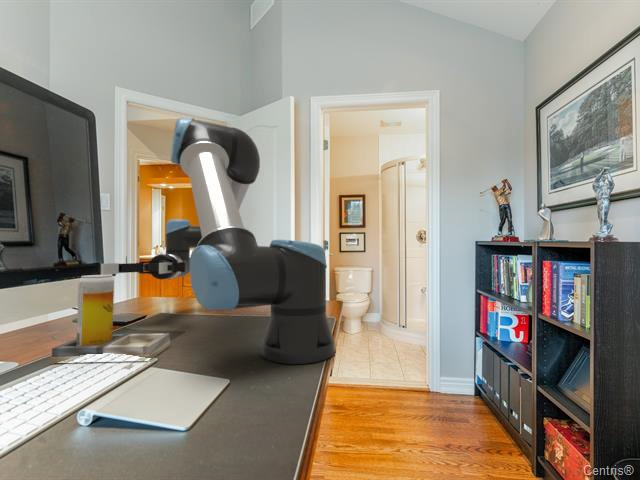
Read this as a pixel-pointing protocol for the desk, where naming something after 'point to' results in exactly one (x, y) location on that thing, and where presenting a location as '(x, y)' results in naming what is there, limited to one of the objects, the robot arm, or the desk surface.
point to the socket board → (116, 346)
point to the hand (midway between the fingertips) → (131, 268)
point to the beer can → (95, 310)
